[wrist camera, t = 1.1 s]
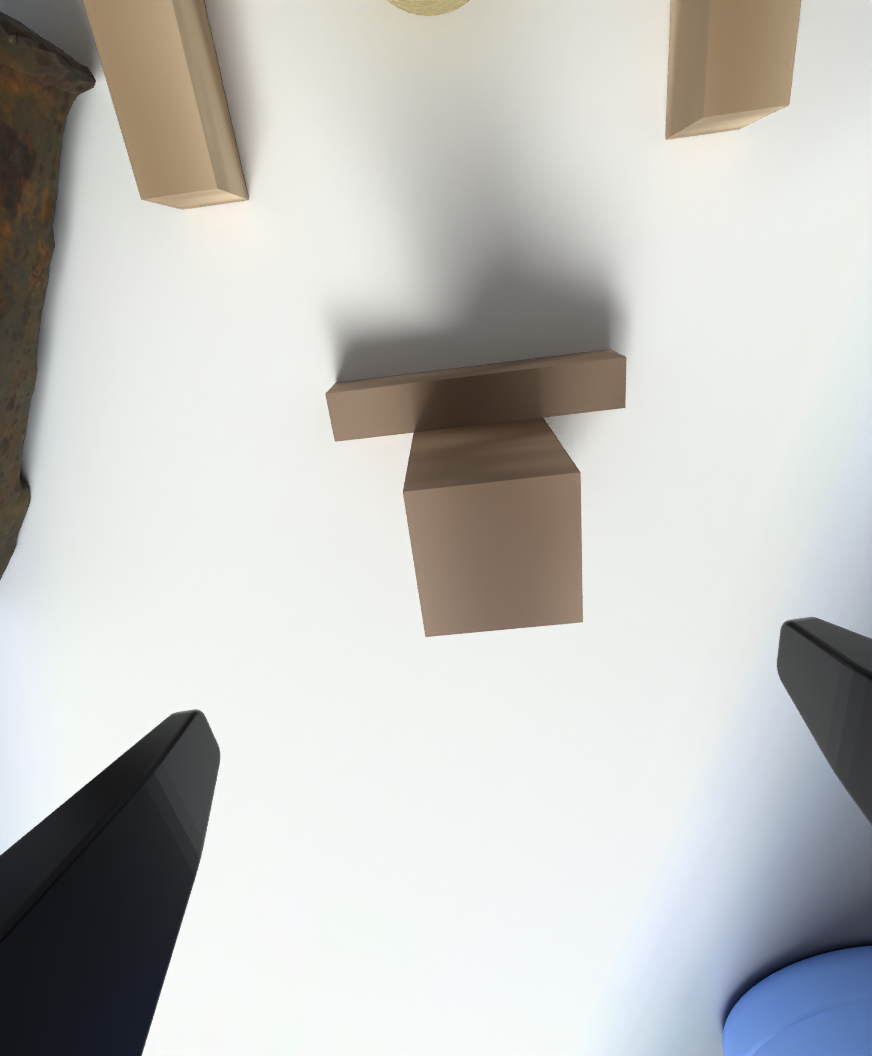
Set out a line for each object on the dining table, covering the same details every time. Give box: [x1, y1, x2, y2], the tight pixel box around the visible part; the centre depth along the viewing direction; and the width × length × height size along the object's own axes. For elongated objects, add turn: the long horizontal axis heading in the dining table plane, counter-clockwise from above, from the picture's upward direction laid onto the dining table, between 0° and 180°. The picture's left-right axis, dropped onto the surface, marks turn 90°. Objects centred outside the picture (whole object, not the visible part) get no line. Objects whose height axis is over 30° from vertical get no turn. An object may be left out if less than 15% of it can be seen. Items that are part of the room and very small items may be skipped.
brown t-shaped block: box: [326, 349, 626, 637], centre depth 16 cm, size 9×6×7 cm, turn 97°
